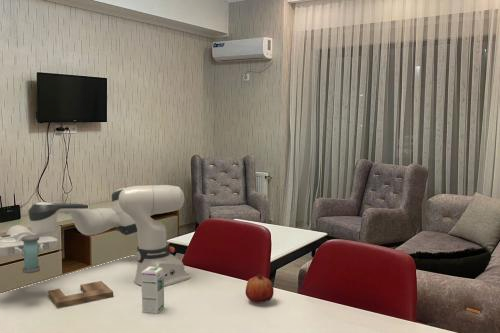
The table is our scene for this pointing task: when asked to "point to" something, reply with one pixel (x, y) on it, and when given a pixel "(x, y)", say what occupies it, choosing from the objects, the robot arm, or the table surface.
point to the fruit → (259, 289)
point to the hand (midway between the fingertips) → (31, 251)
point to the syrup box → (152, 290)
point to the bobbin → (31, 253)
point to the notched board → (81, 295)
